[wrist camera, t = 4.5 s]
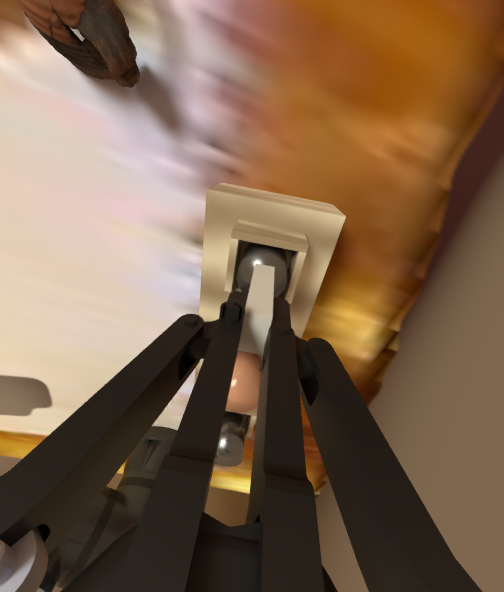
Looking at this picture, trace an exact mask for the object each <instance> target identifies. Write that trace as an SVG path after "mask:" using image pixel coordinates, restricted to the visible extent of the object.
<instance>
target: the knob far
mask: <svg viewBox="0 0 504 592" xmlns="http://www.w3.org/2000/svg"><path fill="white" fill-rule="evenodd" d="M245 431H246V419H245V418H244V417H243V416H241V415H240V414H238V413H234V412H225V414H224V419H223V424H222V429H221V434H220V438H219V443H218V448H217V453H216V457H215V462H214V463H216V464H218V465H221V466H236V465H239V464H240V463H241V462H242V456H243V448H244V439H245Z"/></svg>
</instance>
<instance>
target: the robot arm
mask: <svg viewBox="0 0 504 592" xmlns="http://www.w3.org/2000/svg"><path fill="white" fill-rule="evenodd" d="M274 272H275V267H272V266H267V265H262V264H257V263H255V267H254V271H253V276H252V280H251V285H250V289H249V293H245V292H240V291H235V290H234V291H233V292H231V293H230V294H229V297H228V300H227V302H224V303H222V304H221V306H220V314H219V319H217V320H215V321H206V322H204V320H203V318H202V317H200V316H199V315H195V314H186V315H183V316H181V317H180V318H179V319H178V320H177V321H175V322H174V323H173V324H172V325H171V326H170V327H169V328H168V329H167V330H165V331H164V332H163V333H162V334H161V335H160V336H159V337H158V338H157V339H155V340H154V341H153V342H152V343H151V344H150V345H149V346H148V347H147V348H145V349H144V350H143V351H142V352H141V353H140V354H139V355H138V356H137V357H135V358H134V359H133V360H132V361H131V362H130V363H129V364H128V365H127V366H125V367H124V368H123V369H122V370H121V371H120V372H119V373H118V374H117V375H115V376H114V377H113V378H112V379H111V380H110V381H109V382H108V383H107V384H105V385H104V386H103V387H102V388H101V389H100V390H99V391H98V392H97V393H95V394H94V395H93V396H92V397H91V398H90V399H89V400H88V401H87V402H85V403H84V404H83V405H82V406H81V407H80V408H79V409H78V410H77V411H75V412H74V413H73V414H72V415H71V416H70V417H69V418H68V419H67V420H65V421H64V422H63V423H62V424H61V425H60V426H59V427H58V428H57V429H55V430H54V431H53V432H52V433H51V434H50V435H49V436H48V437H47V438H45V439H44V440H43V441H42V442H41V443H40V444H39V445H38V446H37V447H35V448H34V449H33V450H32V451H31V452H30V453H29V454H28V455H27V456H25V457H24V458H23V459H22V460H21V461H20V462H19V463H18V464H17V465H15V466H14V467H13V468H12V469H11V470H10V471H8V472H7V473H5V474H4V475H2V476H0V592H52V590H53V588H54V586H56V587H60V588H63V590H62V591H61V592H338V591H337V590H336V588H335V586H334V584H333V582H332V580H331V578H330V577H329V575H328V573H327V572H326V570H325V569H324V567H323V566H322V564H321V563H322V562H321V554H320V544H319V533H318V524H317V514H316V503H315V495H314V489H313V486H312V483H311V482H310V481H309V480H308V478H307V475H306V465H305V453H304V441H303V429H302V416H301V404H300V396H301V399H302V402H303V405H304V407H305V410H306V413H307V416H308V419H309V422H310V425H311V428H312V431H313V434H314V437H315V440H316V442H317V445H318V448H319V451H320V454H321V457H322V460H323V463H324V466H325V469H326V472H327V475H328V477H329V480H330V483H331V486H332V489H333V492H334V495H335V498H336V501H337V504H338V507H339V510H340V512H341V515H342V518H343V521H344V524H345V527H346V530H347V533H348V536H349V539H350V542H351V545H352V547H353V550H354V553H355V556H356V559H357V562H358V564H359V567H360V570H361V572H362V575H363V577H364V580H365V583H366V585H367V588H368V590H369V592H482V591H481V589H480V588H479V587H478V586H477V585H476V583H475V582H474V581H473V580H472V578H471V577H470V576H469V575H468V574H467V572H466V571H465V570H464V569H463V567H462V566H461V565H460V564H459V562H458V561H457V560H456V559H455V558H454V556H453V554H452V553H451V551H450V549H449V547H448V546H447V544H446V542H445V540H444V539H443V537H442V535H441V533H440V532H439V530H438V528H437V527H436V525H435V524H434V522H433V520H432V518H431V516H430V515H429V513H428V511H427V509H426V508H425V506H424V504H423V502H422V501H421V499H420V497H419V496H418V494H417V492H416V490H415V489H414V487H413V485H412V484H411V482H410V480H409V478H408V477H407V475H406V473H405V471H404V470H403V468H402V466H401V465H400V463H399V461H398V459H397V458H396V456H395V454H394V453H393V451H392V449H391V448H390V446H389V444H388V442H387V441H386V439H385V437H384V435H383V434H382V432H381V430H380V428H379V427H378V425H377V423H376V422H375V420H374V418H373V416H372V415H371V413H370V411H369V409H368V408H367V406H366V404H365V403H364V401H363V399H362V397H361V396H360V394H359V392H358V390H357V389H356V387H355V385H354V384H353V382H352V380H351V378H350V377H349V375H348V373H347V372H346V370H345V368H344V366H343V365H342V363H341V361H340V359H339V358H338V356H337V354H336V353H335V351H334V349H333V347H332V346H331V345H330V344H329V343H328V342H327V341H325V340H323V339H321V338H311V339H309V341H305V340H303V339H301V338H299V337H297V336H296V335H295V332H294V330H293V329H292V328H291V316H290V304H289V303H288V302H287V300H284V299H279V298H274V297H273V296H274ZM238 351H243V352H248V353H254V354H259V355H263V352H264V355H263V359H262V363H261V366H260V370H259V371H260V372H261V375H260V386H259V397H258V408H257V419H256V430H255V442H254V453H253V464H252V475H251V486H250V497H249V506H248V511H247V517H246V523H245V525H240V526H234V527H229V526H226V525H225V524H223V523H221V522H220V521H218V520H216V519H214V518H213V517H211V516H209V515H208V514H206V513H204V511H205V506H206V501H207V496H208V491H209V486H210V481H211V477H212V472H213V467H214V462H215V457H216V453H217V448H218V443H219V438H220V434H221V429H222V424H223V419H224V414H225V410H226V405H227V400H228V395H229V391H230V386H231V381H232V376H233V371H234V367H235V362H236V357H237V352H238ZM201 359H204V360H203V363H202V366H201V368H200V371H199V374H198V377H197V379H196V382H195V385H194V387H193V390H192V393H191V396H190V398H189V401H188V404H187V407H186V409H185V412H184V415H183V417H182V420H181V423H180V426H179V428H178V431H175V430H172V429H168V428H163V427H151V426H152V425H153V423H154V422H155V421H156V419H157V418H158V417H159V415H160V414H161V413H162V411H163V410H164V409H165V407H166V406H167V405H168V403H169V402H170V401H171V399H172V398H173V397H174V395H175V394H176V393H177V391H178V390H179V389H180V387H181V386H182V385H183V383H184V382H185V381H186V379H187V378H188V377H189V375H190V374H191V373H192V371H193V370H194V369H195V367H196V366H197V365H198V363H199V362H200V360H201ZM125 460H126V463H125V468H124V472H123V477H122V479H121V481H120V483H119V485H118V487H117V489H116V490H114V489H112V488H109V487H107V484H108V483H109V482H110V480H111V479H112V478H113V476H114V475H115V474H116V472H117V471H118V470H119V468H120V467H121V466H122V464H123V463H124V462H125Z"/></svg>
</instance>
